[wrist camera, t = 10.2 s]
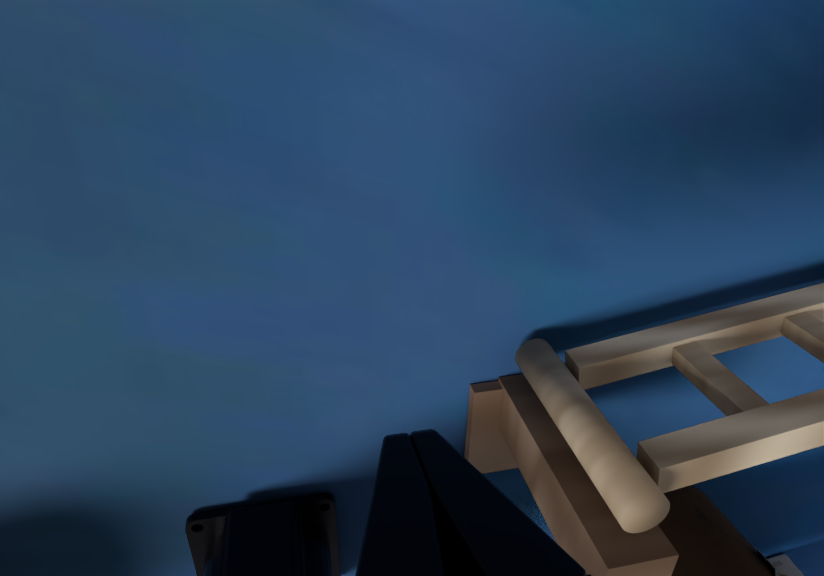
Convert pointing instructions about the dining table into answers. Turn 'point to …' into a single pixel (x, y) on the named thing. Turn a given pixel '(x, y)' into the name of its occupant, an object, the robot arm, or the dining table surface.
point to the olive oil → (708, 539)
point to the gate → (692, 355)
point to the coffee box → (784, 566)
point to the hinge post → (557, 481)
